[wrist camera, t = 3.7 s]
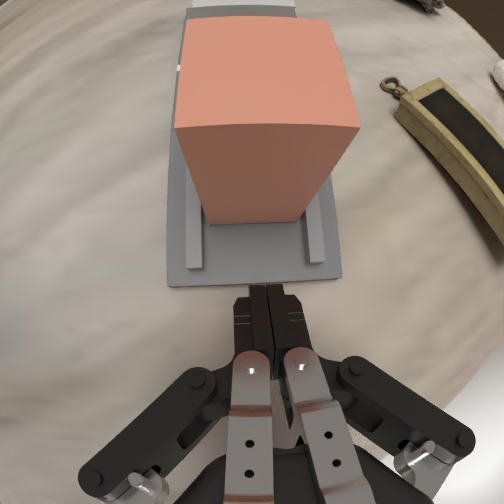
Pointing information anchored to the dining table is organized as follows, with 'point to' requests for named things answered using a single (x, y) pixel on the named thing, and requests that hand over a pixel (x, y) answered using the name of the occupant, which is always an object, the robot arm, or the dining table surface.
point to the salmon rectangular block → (261, 114)
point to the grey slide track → (247, 234)
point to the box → (457, 143)
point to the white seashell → (499, 74)
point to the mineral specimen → (432, 5)
